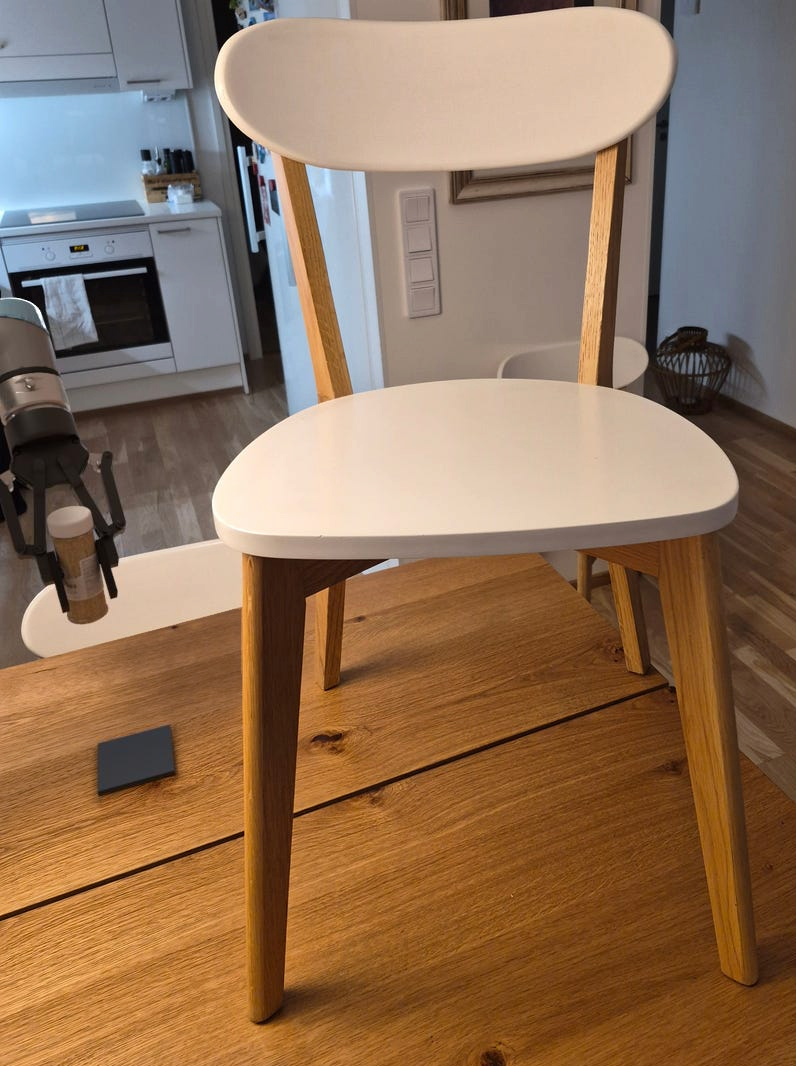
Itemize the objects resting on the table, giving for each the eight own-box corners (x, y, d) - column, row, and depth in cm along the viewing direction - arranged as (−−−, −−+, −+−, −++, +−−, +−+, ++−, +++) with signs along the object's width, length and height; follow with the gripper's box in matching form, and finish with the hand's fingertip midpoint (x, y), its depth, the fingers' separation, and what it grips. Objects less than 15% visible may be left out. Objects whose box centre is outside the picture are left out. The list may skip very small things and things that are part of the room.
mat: (98, 795, 93) (97, 791, 93) (98, 746, 100) (97, 742, 99) (175, 774, 96) (174, 770, 95) (170, 728, 102) (169, 724, 102)
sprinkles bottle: (59, 619, 99) (36, 517, 94) (91, 600, 103) (71, 501, 98) (86, 630, 97) (65, 526, 92) (118, 610, 101) (99, 509, 96)
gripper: (-51, 420, 94) (0, 619, 88) (115, 391, 102) (172, 569, 96) (-42, 448, 100) (6, 635, 94) (114, 418, 109) (167, 587, 103)
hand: (90, 601), depth 95 cm, fingers closed on sprinkles bottle, 4 cm apart
